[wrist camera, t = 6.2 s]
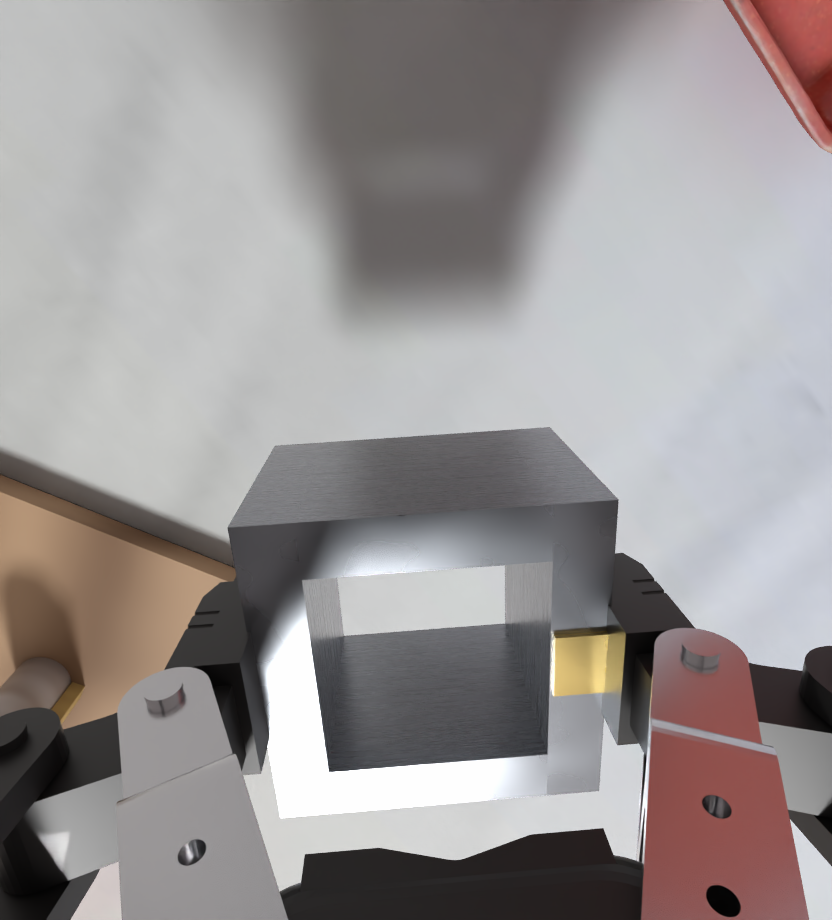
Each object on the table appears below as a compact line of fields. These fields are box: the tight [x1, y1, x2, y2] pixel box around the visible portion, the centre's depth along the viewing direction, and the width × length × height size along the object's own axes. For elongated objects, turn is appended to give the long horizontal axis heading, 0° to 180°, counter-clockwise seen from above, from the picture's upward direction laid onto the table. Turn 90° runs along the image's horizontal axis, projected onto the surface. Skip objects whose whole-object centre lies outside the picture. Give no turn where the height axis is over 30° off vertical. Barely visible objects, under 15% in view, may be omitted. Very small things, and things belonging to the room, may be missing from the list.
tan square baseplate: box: [0, 475, 236, 729], centre depth 21 cm, size 14×14×5 cm
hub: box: [228, 427, 618, 818], centre depth 12 cm, size 6×6×4 cm
